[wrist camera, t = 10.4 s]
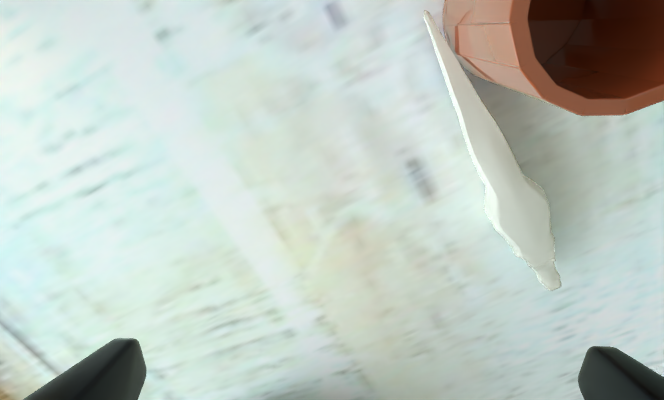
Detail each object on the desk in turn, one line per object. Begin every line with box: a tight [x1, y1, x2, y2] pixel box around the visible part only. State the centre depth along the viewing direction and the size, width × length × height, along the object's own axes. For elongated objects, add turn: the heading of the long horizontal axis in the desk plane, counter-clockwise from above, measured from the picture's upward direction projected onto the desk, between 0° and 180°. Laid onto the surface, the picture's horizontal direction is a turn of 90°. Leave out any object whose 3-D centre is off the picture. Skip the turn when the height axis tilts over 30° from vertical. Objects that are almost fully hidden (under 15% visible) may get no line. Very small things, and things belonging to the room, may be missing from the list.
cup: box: [443, 0, 664, 116], centre depth 12 cm, size 6×6×7 cm
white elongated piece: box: [424, 10, 561, 291], centre depth 17 cm, size 15×3×2 cm, turn 32°
